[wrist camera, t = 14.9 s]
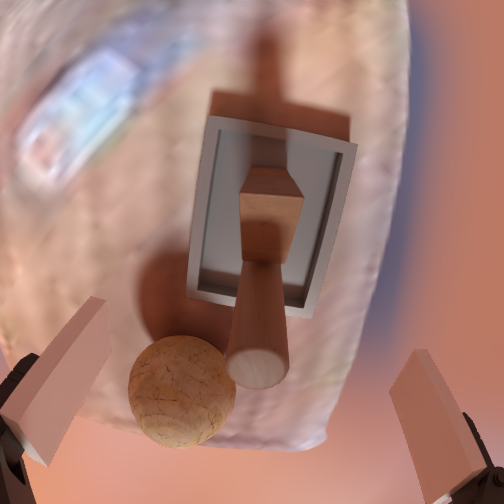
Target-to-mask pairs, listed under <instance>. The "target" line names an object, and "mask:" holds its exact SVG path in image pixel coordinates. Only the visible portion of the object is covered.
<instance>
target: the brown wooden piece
mask: <svg viewBox="0 0 504 504" xmlns="http://www.w3.org/2000/svg"><path fill="white" fill-rule="evenodd" d="M303 202H304V196H303V194H302V192H301V190H300V189H299V187H298V185H297V184H296V182H295V180H294V179H293V178H292V177H291V175H290V174H289V172H288V170H287V169H286V168H283V167H271V166H257V165H254V166H252V167H251V169H250V171H249V173H248V175H247V177H246V179H245V181H244V183H243V185H242V187H241V189H240V191H239V213H240V234H241V254H242V260H243V264H242V269H241V274H240V280H239V285H238V291H237V296H236V302H235V308H234V313H233V319H232V324H231V330H230V335H229V341H228V347H227V352H226V358H225V369H226V372H227V374H228V375H229V377H230V378H231V380H232V381H234V382H235V383H236V384H238V385H240V386H242V387H244V388H248V389H254V390H259V389H267V388H271V387H273V386H275V385H277V384H279V383H280V382H281V381H282V380H283V379H284V378H285V377H286V375H287V373H288V370H289V354H288V341H287V329H286V317H285V305H284V294H283V283H282V273H281V264H285V263H286V260H287V256H288V253H289V250H290V247H291V243H292V240H293V237H294V233H295V230H296V226H297V223H298V220H299V216H300V213H301V209H302V206H303Z"/></svg>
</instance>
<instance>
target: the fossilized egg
mask: <svg viewBox="0 0 504 504" xmlns="http://www.w3.org/2000/svg"><path fill="white" fill-rule="evenodd" d="M128 395H129V402H130V406H131V410H132V413H133V415H134V417H135V419H136V421H137V423H138V425H139V426H140V427H141V429H142V430H143V431H144V433H145V434H146V435H147V436H148V437H149V438H151V439H152V440H153V441H155V442H156V443H158V444H160V445H162V446H165V447H169V448H176V449H177V448H178V449H179V448H188V447H192V446H195V445H198V444H200V443H202V442H204V441H205V440H207V439H209V438H211V437H212V436H213V435H214V434H215V433H216V432H217V431H219V430H220V429H221V428H222V426H223V425H224V424H225V422H226V421H227V419H228V418H229V416H230V414H231V412H232V409H233V407H234V402H235V396H236V385H235V382H234V381H232V380H231V378H230V377H229V375H228V374H227V372H226V369H225V357H224V355H223V354H222V353H221V352H220V351H219V350H218V349H216V348H215V347H214V346H213V345H211V344H210V343H208V342H206V341H204V340H202V339H200V338H197V337H193V336H188V335H176V336H169V337H165V338H162V339H160V340H158V341H156V342H154V343H153V344H151V345H149V346H148V347H147V348H146V349H145V350H144V351H143V352H142V353H141V354H140V355H139V357H138V358H137V360H136V361H135V363H134V365H133V368H132V370H131V372H130V377H129V384H128Z"/></svg>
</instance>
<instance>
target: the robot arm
mask: <svg viewBox="0 0 504 504" xmlns="http://www.w3.org/2000/svg"><path fill="white" fill-rule="evenodd" d="M111 352H112V346H111V338H110V330H109V320H108V310H107V300H103V299H99V298H95V297H92V296H91V297H90V298H89V299H88V300H87V301H86V302H85V303H84V305H83V306H82V307H81V308H80V309H79V310H78V311H77V313H76V314H75V315H74V316H73V317H72V318H71V319H70V321H69V322H68V323H67V324H66V325H65V326H64V328H63V329H62V330H61V331H60V332H59V334H58V335H57V336H56V337H55V338H54V340H53V341H52V342H51V343H50V344H49V346H48V347H47V348H46V349H45V351H44V352H43V353H42V354H41V356H38V355H36V354H34V353H30V354H29V355H27V356H26V357H24V358H22V359H21V360H20V361H19V362H18V363H17V365H16V366H15V367H14V368H13V371H11V372H10V373H9V375H8V376H7V378H5V380H4V381H3V382H2V383H1V385H0V504H36V501H35V498H34V495H33V492H32V489H31V486H30V482H29V479H28V476H27V472H26V468H25V464H24V461H23V459H22V457H21V456H22V454H23V452H24V450H25V452H26V453H27V454H28V455H29V457H30V458H31V459H33V460H35V461H36V462H38V463H40V464H42V465H44V466H46V467H49V465H50V463H51V461H52V459H53V457H54V455H55V453H56V451H57V449H58V447H59V445H60V443H61V441H62V439H63V437H64V435H65V433H66V431H67V429H68V428H69V426H70V424H71V422H72V420H73V418H74V416H75V415H76V413H77V411H78V409H79V407H80V405H81V404H82V402H83V400H84V398H85V396H86V395H87V393H88V391H89V389H90V388H91V386H92V384H93V382H94V381H95V379H96V377H97V375H98V374H99V372H100V370H101V369H102V367H103V365H104V364H105V362H106V360H107V358H108V357H109V355H110V353H111ZM389 393H390V396H391V398H392V401H393V404H394V407H395V409H396V412H397V415H398V418H399V421H400V423H401V426H402V429H403V432H404V435H405V438H406V441H407V444H408V447H409V450H410V453H411V456H412V460H413V463H414V466H415V469H416V472H417V476H418V479H419V483H420V486H421V490H422V493H423V497H424V500H425V504H440V503H442V502H444V501H445V500H446V499H447V498H449V497H451V498H452V501H451V502H450V503H449V504H504V468H503V467H494V465H493V463H492V461H491V458H490V456H489V454H488V452H487V450H486V448H485V445H484V443H483V441H482V439H480V435H479V433H478V432H477V429H476V427H475V425H474V423H473V421H472V420H471V419H470V417H468V415H467V414H466V413H465V412H463V413H462V412H461V410H460V408H459V406H458V404H457V402H456V400H455V399H454V397H453V395H452V393H451V391H450V389H449V387H448V385H447V384H446V382H445V380H444V378H443V376H442V375H441V373H440V371H439V370H438V368H437V366H436V364H435V362H434V361H433V359H432V357H431V355H430V354H429V352H428V350H426V349H414V350H413V352H412V353H411V355H410V357H409V359H408V361H407V362H406V364H405V366H404V368H403V369H402V371H401V373H400V375H399V376H398V378H397V379H396V381H395V383H394V385H393V386H392V387H391V389H390V391H389Z"/></svg>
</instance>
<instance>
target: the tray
mask: <svg viewBox="0 0 504 504" xmlns="http://www.w3.org/2000/svg"><path fill="white" fill-rule="evenodd" d="M357 147H358V144H354V143H351V142H347V141H343V140H339V139H335V138H331V137H327V136H323V135H319V134H314V133H310V132H305V131H301V130H296V129H291V128H286V127H281V126H276V125H271V124H265V123H259V122H253V121H247V120H241V119H234V118H227V117H220V116H212V115H208V118H207V124H206V130H205V136H204V142H203V149H202V155H201V162H200V169H199V176H198V183H197V191H196V199H195V207H194V215H193V223H192V232H191V241H190V251H189V261H188V271H187V283H186V295H185V298H190V299H195V300H200V301H206V302H211V303H216V304H222V305H227V306H233V307H235V302H236V296H237V291H238V285H239V280H240V274H241V269H242V264H243V260H242V254H241V234H240V213H239V191H240V189H241V187H242V185H243V183H244V181H245V179H246V177H247V175H248V173H249V171H250V169H251V167H252V166H254V165H257V166H271V167H283V168H286V169H287V170H288V172H289V174H290V175H291V177H292V178H293V179H294V180H295V182H296V184H297V185H298V187H299V189H300V190H301V192H302V194H303V196H304V202H303V206H302V209H301V213H300V216H299V220H298V223H297V226H296V230H295V233H294V237H293V240H292V243H291V247H290V250H289V253H288V256H287V260H286V263H285V264H281V273H282V283H283V294H284V305H285V315H287V316H293V317H300V318H307V319H312V315H313V312H314V309H315V306H316V303H317V300H318V297H319V293H320V290H321V287H322V283H323V280H324V277H325V273H326V270H327V267H328V263H329V260H330V256H331V252H332V249H333V245H334V242H335V238H336V234H337V231H338V227H339V223H340V219H341V215H342V211H343V207H344V203H345V199H346V195H347V191H348V187H349V183H350V178H351V174H352V170H353V165H354V161H355V156H356V151H357Z"/></svg>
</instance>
